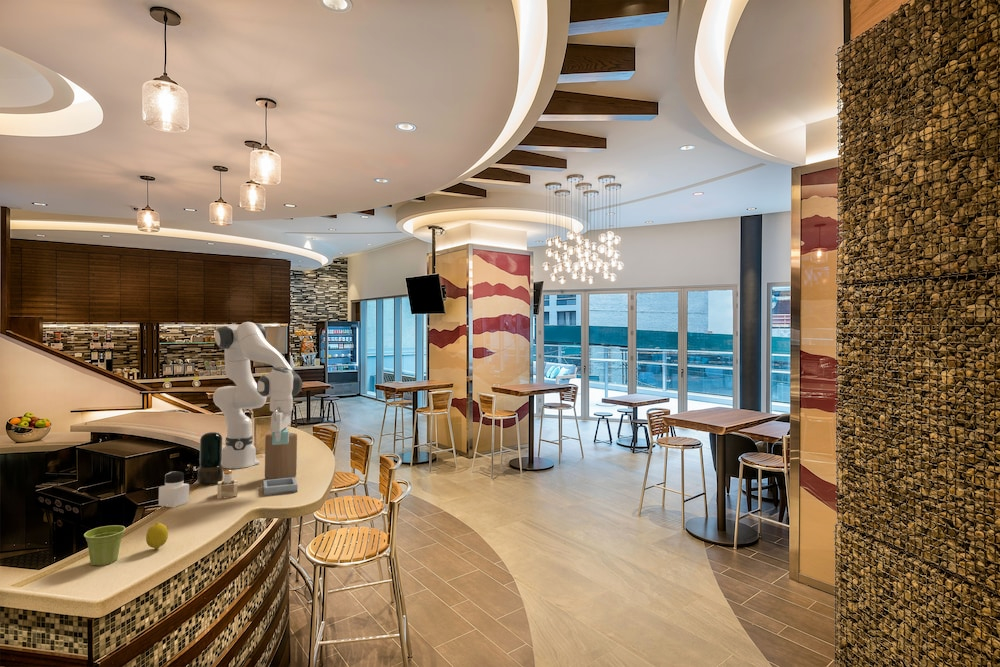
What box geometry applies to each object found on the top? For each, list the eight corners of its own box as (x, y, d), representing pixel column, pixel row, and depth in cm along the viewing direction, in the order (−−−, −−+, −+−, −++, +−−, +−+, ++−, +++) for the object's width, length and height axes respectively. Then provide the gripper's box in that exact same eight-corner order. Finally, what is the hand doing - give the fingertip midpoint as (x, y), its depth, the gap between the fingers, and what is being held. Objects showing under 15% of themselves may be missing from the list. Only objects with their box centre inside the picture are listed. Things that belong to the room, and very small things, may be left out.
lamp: (227, 482, 227) (228, 431, 227) (206, 487, 219) (207, 435, 219) (213, 478, 232) (214, 429, 232) (192, 484, 223) (193, 433, 223)
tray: (263, 487, 220) (263, 480, 220) (294, 484, 226) (294, 477, 226) (264, 495, 209) (264, 488, 209) (297, 491, 215) (297, 484, 215)
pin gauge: (223, 494, 209) (223, 470, 209) (230, 493, 211) (231, 469, 211) (224, 496, 207) (224, 471, 207) (231, 495, 208) (232, 470, 209)
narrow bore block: (273, 442, 219) (273, 430, 219) (288, 441, 221) (288, 429, 221) (272, 444, 214) (272, 432, 214) (287, 444, 216) (288, 432, 216)
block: (263, 478, 233) (264, 434, 233) (282, 473, 242) (283, 431, 242) (278, 482, 228) (279, 436, 228) (297, 476, 237) (298, 433, 237)
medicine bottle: (189, 502, 199) (190, 471, 200) (173, 508, 193) (173, 475, 193) (174, 500, 201) (175, 469, 201) (158, 506, 195) (158, 474, 195)
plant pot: (120, 551, 154) (120, 522, 154) (128, 561, 147) (129, 530, 147) (80, 561, 147) (80, 531, 147) (87, 572, 140) (88, 540, 140)
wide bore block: (218, 493, 210) (218, 481, 210) (237, 491, 213) (237, 479, 213) (217, 498, 204) (217, 486, 204) (237, 496, 207) (237, 484, 207)
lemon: (170, 549, 156) (170, 522, 156) (148, 554, 152) (149, 527, 152) (164, 544, 160) (165, 518, 160) (143, 549, 156) (143, 522, 156)
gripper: (283, 409, 208) (282, 444, 208) (294, 403, 228) (293, 434, 228) (266, 409, 207) (266, 444, 207) (279, 403, 227) (278, 434, 227)
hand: (280, 439), depth 217 cm, fingers closed on narrow bore block, 6 cm apart
